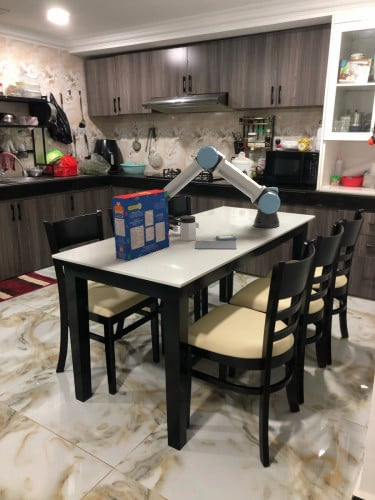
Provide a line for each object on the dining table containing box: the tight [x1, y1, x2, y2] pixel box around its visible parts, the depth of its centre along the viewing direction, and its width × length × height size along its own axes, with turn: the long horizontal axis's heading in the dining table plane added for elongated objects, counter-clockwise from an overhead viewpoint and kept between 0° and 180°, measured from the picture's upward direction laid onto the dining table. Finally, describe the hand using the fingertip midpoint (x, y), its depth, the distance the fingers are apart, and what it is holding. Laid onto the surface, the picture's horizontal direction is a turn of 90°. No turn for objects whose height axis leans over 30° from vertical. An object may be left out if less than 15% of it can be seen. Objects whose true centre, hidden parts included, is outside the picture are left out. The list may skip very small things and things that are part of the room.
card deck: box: [215, 234, 237, 241], centre depth 205 cm, size 9×6×2 cm
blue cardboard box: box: [111, 189, 170, 262], centre depth 181 cm, size 28×8×28 cm, turn 142°
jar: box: [179, 215, 197, 242], centre depth 205 cm, size 9×8×12 cm
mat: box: [194, 240, 237, 250], centre depth 194 cm, size 20×14×1 cm
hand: (187, 227), depth 205 cm, fingers open, 13 cm apart
